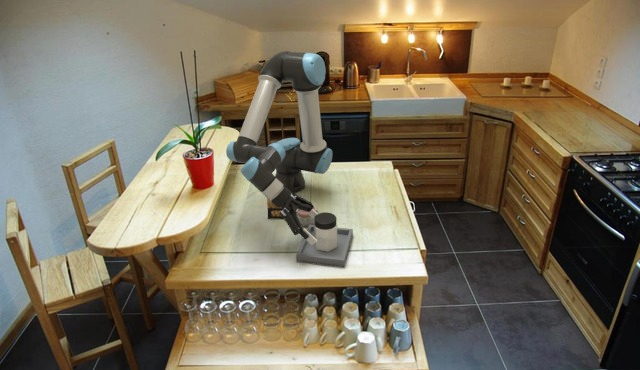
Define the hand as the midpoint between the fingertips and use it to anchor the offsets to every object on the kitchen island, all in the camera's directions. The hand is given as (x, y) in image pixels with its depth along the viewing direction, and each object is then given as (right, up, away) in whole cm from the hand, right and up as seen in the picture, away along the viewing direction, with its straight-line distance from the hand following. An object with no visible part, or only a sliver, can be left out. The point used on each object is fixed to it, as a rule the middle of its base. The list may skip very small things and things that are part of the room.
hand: (318, 232), depth 169 cm
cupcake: (-5, +2, +19) cm, 20 cm away
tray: (+3, -6, +3) cm, 7 cm away
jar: (+3, -5, +3) cm, 7 cm away
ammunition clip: (-16, +4, +23) cm, 28 cm away
